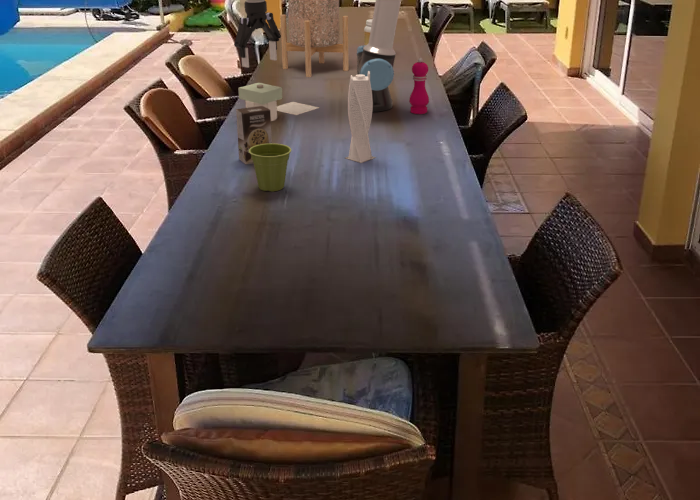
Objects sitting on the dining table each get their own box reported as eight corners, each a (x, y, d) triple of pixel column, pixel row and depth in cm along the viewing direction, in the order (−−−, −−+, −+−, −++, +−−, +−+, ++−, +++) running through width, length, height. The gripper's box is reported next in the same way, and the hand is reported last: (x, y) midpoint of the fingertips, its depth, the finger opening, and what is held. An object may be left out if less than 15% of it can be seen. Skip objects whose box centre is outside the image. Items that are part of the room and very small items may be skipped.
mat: (319, 108, 298) (319, 107, 298) (296, 116, 289) (296, 115, 289) (292, 102, 306) (292, 101, 306) (269, 109, 297) (268, 108, 297)
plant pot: (276, 198, 216) (274, 159, 211) (242, 190, 222) (239, 151, 217) (301, 185, 225) (299, 147, 220) (268, 177, 231) (266, 140, 226)
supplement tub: (389, 58, 378) (390, 22, 371) (364, 58, 378) (364, 22, 371) (388, 53, 389) (389, 18, 382) (364, 53, 389) (364, 18, 382)
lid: (282, 98, 283) (282, 85, 281) (262, 104, 276) (261, 90, 274) (259, 93, 290) (258, 80, 288) (239, 98, 283) (238, 85, 281)
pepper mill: (427, 115, 289) (429, 60, 281) (407, 114, 291) (409, 59, 282) (429, 109, 296) (431, 56, 287) (410, 108, 297) (411, 55, 288)
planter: (350, 70, 356) (348, -4, 342) (307, 78, 345) (304, 1, 330) (323, 62, 373) (320, -10, 359) (281, 69, 361) (277, -5, 347)
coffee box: (245, 165, 241) (242, 113, 234) (238, 159, 246) (234, 108, 239) (273, 160, 245) (270, 109, 238) (265, 154, 250) (262, 104, 243)
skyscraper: (379, 159, 245) (380, 69, 233) (362, 166, 240) (362, 74, 228) (359, 153, 251) (359, 65, 239) (342, 160, 245) (341, 70, 233)
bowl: (283, 118, 287) (282, 98, 283) (261, 125, 279) (260, 104, 276) (262, 113, 293) (261, 93, 290) (240, 119, 285) (239, 99, 282)
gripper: (273, -5, 279) (277, 55, 288) (220, 4, 262) (226, 68, 271) (288, -4, 275) (292, 58, 284) (235, 6, 257) (241, 71, 267)
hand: (259, 63), depth 277 cm, fingers open, 13 cm apart
